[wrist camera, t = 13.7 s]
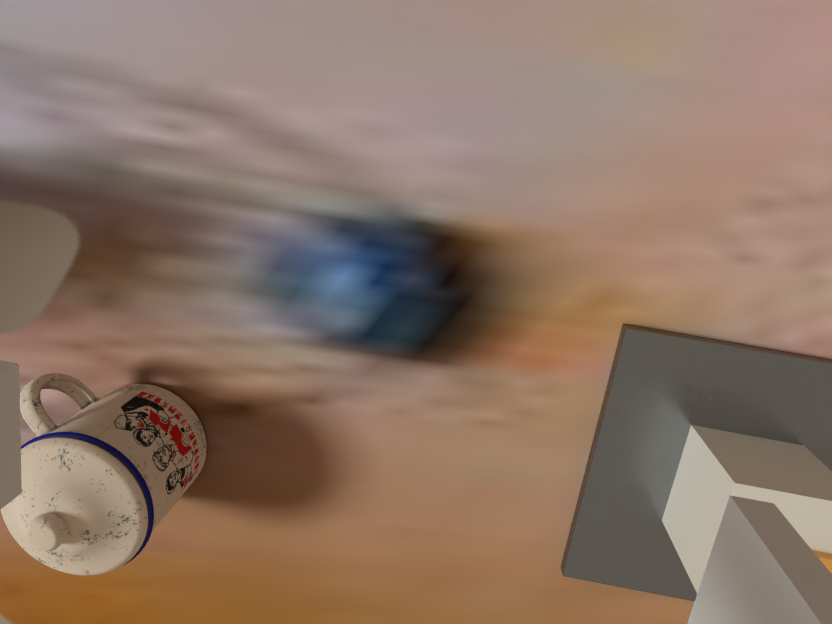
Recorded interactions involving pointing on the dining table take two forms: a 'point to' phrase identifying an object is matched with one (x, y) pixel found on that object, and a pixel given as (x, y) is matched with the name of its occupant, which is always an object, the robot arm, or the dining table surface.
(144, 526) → the teacup with lid
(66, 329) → the dining table surface
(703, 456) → the white box
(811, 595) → the robot arm
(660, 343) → the panel
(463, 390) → the dining table surface
